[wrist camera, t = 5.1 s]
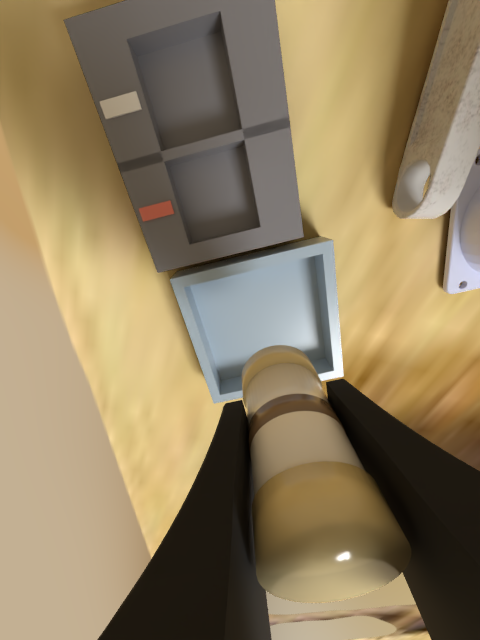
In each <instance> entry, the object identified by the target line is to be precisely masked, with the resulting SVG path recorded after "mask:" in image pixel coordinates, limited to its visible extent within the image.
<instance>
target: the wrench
mask: <svg viewBox="0 0 480 640" xmlns="http://www.w3.org/2000/svg"><path fill="white" fill-rule="evenodd" d="M479 147H480V0H449V1H448V5H447V8H446V12H445V15H444V19H443V22H442V26H441V29H440V32H439V36H438V39H437V43H436V46H435V50H434V53H433V57H432V60H431V64H430V67H429V70H428V74H427V77H426V81H425V84H424V87H423V91H422V94H421V97H420V101H419V104H418V108H417V111H416V114H415V118H414V121H413V125H412V128H411V131H410V135H409V138H408V141H407V145H406V148H405V152H404V156H403V159H402V163H401V166H400V170H399V174H398V178H397V183H396V187H395V192H394V196H393V201H392V207H393V212H394V213H395V215H396V216H397V217H399V218H400V219H434V218H436V217H439V216H441V215H443V214H445V213H446V212H447V211H448V210H449V209H450V208H451V207H452V206H453V204H454V203H455V201H456V200H457V199H458V197H459V195H460V193H461V191H462V189H463V187H464V185H465V182H466V179H467V177H468V174H469V172H470V169H471V167H472V164H473V162H474V160H475V157H476V155H477V152H478V150H479ZM429 175H430V180H429V185H428V189H427V191H426V193H425V195H424V197H423V189H424V185H425V183H426V181H427V179H428V177H429ZM422 199H423V200H422Z"/></svg>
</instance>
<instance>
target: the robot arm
mask: <svg viewBox="0 0 480 640" xmlns="http://www.w3.org/2000/svg"><path fill="white" fill-rule="evenodd" d="M477 156H478V158H479V160H478V163H477V164H475V160H476V157H477ZM476 157H475V160H474V162H473V164H472V167H471V169H470V172H469V174H468V177H467V179H466V182H465V185H464V187H463V189H462V191H461V193H460V195H459V197H458V199H457V200H456V201H455V203H454V204H453V206H452V207H451V213H450V223H449V232H448V242H447V252H446V261H445V271H444V281H443V290H444V292H447V293H449V294H455V293H459V292H464V291H468V290H473V289H477V288H480V149H479V150H478V152H477V155H476ZM461 282H462V284H461V285H460V286H459V284H460V283H461ZM326 385H327V394H328V401H329V403H330V404H331V406H332V407H333V409H334V410H335V412H336V414H337V416H338V418H339V419H340V421H341V423H342V425H343V427H344V429H345V431H346V435H347V437H348V439H349V441H350V443H351V444H352V446H353V448H354V450H355V452H356V454H357V456H358V458H359V460H360V462H361V464H362V465H363V467H364V469H365V471H366V472H367V473H369V474H370V475H371V476H372V477H373V478H374V480H375V481H376V483H377V485H378V487H379V489H380V490H381V492H382V494H383V496H384V498H385V500H386V501H387V503H388V505H389V507H390V509H391V511H392V513H393V514H394V516H395V518H396V520H397V522H398V524H399V525H400V527H401V529H402V531H403V533H404V535H405V537H406V538H407V540H408V542H409V544H410V547H411V558H410V561H409V563H408V565H407V567H406V568H405V570H404V571H403V574H404V577H405V579H406V581H407V584H408V586H409V588H410V591H411V593H412V595H413V598H414V600H415V602H416V605H417V607H418V609H419V611H420V614H421V616H422V618H423V621H424V623H425V625H426V628H427V630H428V632H429V635H430V637H431V640H480V471H478V470H476V469H475V468H473V467H471V466H470V465H468V464H466V463H464V462H463V461H461V460H459V459H458V458H456V457H454V456H453V455H451V454H449V453H448V452H446V451H444V450H443V449H441V448H440V447H438V446H436V445H435V444H433V443H432V442H430V441H429V440H427V439H425V438H424V437H422V436H421V435H419V434H418V433H416V432H415V431H413V430H412V429H410V428H409V427H407V426H406V425H404V424H403V423H402V422H400V421H399V420H397V419H396V418H395V417H393V416H392V415H390V414H389V413H388V412H386V411H385V410H383V409H382V408H381V407H379V406H378V405H377V404H375V403H374V402H373V401H371V400H370V399H369V398H368V397H366V396H365V395H364V394H362V393H361V392H360V391H359V390H357V389H356V388H355V387H353V386H352V385H351V384H350V383H348V382H347V381H346V380H344V379H339V380H335V381H330V382H326ZM253 499H254V487H253V476H252V465H251V457H250V453H249V441H248V420H247V416H246V412H245V409H244V405H243V402H242V400H240V401H235V402H231V403H226V404H225V405H224V407H223V411H222V414H221V417H220V420H219V423H218V426H217V429H216V432H215V434H214V437H213V439H212V442H211V444H210V447H209V449H208V452H207V454H206V457H205V459H204V461H203V464H202V466H201V468H200V470H199V472H198V475H197V477H196V479H195V481H194V483H193V485H192V487H191V489H190V491H189V493H188V495H187V497H186V499H185V501H184V503H183V505H182V507H181V509H180V511H179V513H178V514H177V516H176V518H175V520H174V522H173V523H172V525H171V527H170V529H169V530H168V532H167V534H166V536H165V537H164V539H163V541H162V542H161V544H160V546H159V547H158V549H157V551H156V552H155V554H154V556H153V557H152V559H151V561H150V562H149V564H148V566H147V567H146V569H145V570H144V572H143V573H142V575H141V577H140V578H139V580H138V581H137V582H136V584H135V585H134V587H133V588H132V590H131V591H130V593H129V595H128V596H127V597H126V599H125V601H124V602H123V603H122V605H121V606H120V608H119V609H118V611H117V612H116V614H115V615H114V617H113V618H112V620H111V621H110V623H109V624H108V626H107V627H106V629H105V630H104V631H103V633H102V634H101V636H100V637H99V638H98V640H271V632H270V624H269V616H268V608H267V599H266V590H265V589H264V588H263V587H262V586H261V585H260V583H259V582H258V579H257V574H256V561H255V548H254V535H253V522H252V502H253Z"/></svg>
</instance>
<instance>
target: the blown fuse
mask: <svg viewBox="0 0 480 640" xmlns="http://www.w3.org/2000/svg"><path fill="white" fill-rule="evenodd" d="M242 391H243V401H244V404H245V407H246V409H247V420H248V441H249V453H250V457H251V465H252V476H253V487H254V499H253V502H252V522H253V535H254V548H255V561H256V574H257V579H258V582H259V583H260V585H261V586H262V587H263V588H264V589H265V590H266V591H267V592H269V593H271V594H272V595H274V596H277V597H279V598H282V599H285V600H289V601H294V602H302V603H327V602H335V601H342V600H347V599H351V598H355V597H358V596H361V595H364V594H367V593H370V592H372V591H375V590H376V589H378V588H381V587H383V586H385V585H386V584H388V583H389V582H391V581H392V580H394V579H395V578H396V577H398V576H399V575H400V574H401V572H403V571H404V570H405V568H406V567H407V565H408V563H409V561H410V558H411V547H410V544H409V542H408V540H407V538H406V537H405V535H404V533H403V531H402V529H401V527H400V525H399V524H398V522H397V520H396V518H395V516H394V514H393V513H392V511H391V509H390V507H389V505H388V503H387V501H386V500H385V498H384V496H383V494H382V492H381V490H380V489H379V487H378V485H377V483H376V481H375V480H374V478H373V477H372V476H371V475H370V474H369V473H367V472H366V471H365V469H364V467H363V465H362V464H361V462H360V460H359V458H358V456H357V454H356V452H355V450H354V448H353V446H352V444H351V443H350V441H349V439H348V437H347V435H346V431H345V429H344V427H343V425H342V423H341V421H340V419H339V418H338V416H337V414H336V412H335V410H334V409H333V407H332V406H331V404H330V403H329V401H328V399H327V397H326V395H325V393H324V391H323V389H322V384H321V380H320V378H319V376H318V374H317V372H316V371H315V369H314V367H313V365H312V363H311V361H310V360H309V358H308V357H307V356H306V354H304V353H303V352H302V351H300V350H299V349H297V348H295V347H291V346H287V345H274V346H269V347H266V348H263V349H261V350H259V351H258V352H256V353H255V354H253V355H252V356H251V357H250V358H249V359H248V361H247V362H246V364H245V365H244V368H243V371H242Z"/></svg>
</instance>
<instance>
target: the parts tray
mask: <svg viewBox="0 0 480 640" xmlns="http://www.w3.org/2000/svg"><path fill="white" fill-rule="evenodd" d="M170 282H171V284H172V287H173V290H174V293H175V296H176V298H177V301H178V304H179V307H180V310H181V312H182V315H183V318H184V321H185V324H186V327H187V329H188V332H189V335H190V338H191V341H192V343H193V346H194V349H195V352H196V355H197V357H198V360H199V363H200V366H201V369H202V371H203V374H204V377H205V380H206V383H207V385H208V388H209V391H210V394H211V397H212V399H213V402H214V403H219V402H223V401H228V400H233V399H238V398H242V397H243V391H242V371H243V368H244V365H245V364H246V362H247V361H248V359H249V358H250V357H251V356H252V355H253V354H255V353H256V352H258V351H259V350H261V349H263V348H266V347H269V346H274V345H287V346H291V347H295V348H297V349H299V350H300V351H302V352H303V353H304V354H306V356H307V357H308V358H309V360H310V361H311V363H312V365H313V367H314V369H315V371H316V372H317V374H318V376H319V378H320V380H321V381H323V380H328V379H333V378H337V377H342V376H343V363H342V350H341V337H340V324H339V311H338V298H337V285H336V272H335V259H334V246H333V240H332V239H328V238H324V237H321V236H320V237H316V238H312V239H308V240H304V241H299V242H295V243H291V244H287V245H283V246H279V247H275V248H271V249H267V250H263V251H259V252H255V253H250V254H246V255H242V256H238V257H234V258H230V259H226V260H222V261H218V262H214V263H210V264H205V265H201V266H197V267H193V268H189V269H185V270H181V271H177V272H176V273H175V274H174V275H173V276H172V278H171V279H170Z"/></svg>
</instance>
